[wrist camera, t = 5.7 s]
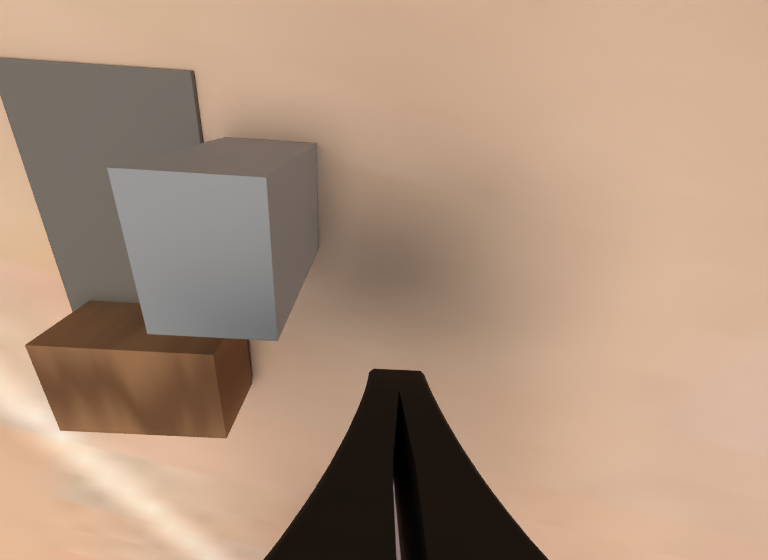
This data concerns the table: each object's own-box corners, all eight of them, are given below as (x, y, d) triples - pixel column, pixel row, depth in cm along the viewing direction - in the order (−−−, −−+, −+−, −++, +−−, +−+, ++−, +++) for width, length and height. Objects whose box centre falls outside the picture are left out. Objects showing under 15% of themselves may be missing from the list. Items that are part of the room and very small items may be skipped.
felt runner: (238, 404, 24) (236, 408, 23) (105, 398, 23) (102, 401, 23) (193, 71, 16) (190, 70, 16) (-6, 57, 16) (-13, 57, 15)
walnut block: (226, 438, 19) (60, 430, 19) (251, 383, 22) (113, 376, 22) (213, 354, 17) (25, 345, 16) (243, 308, 20) (89, 300, 20)
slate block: (318, 248, 19) (277, 341, 12) (237, 244, 19) (147, 334, 12) (316, 143, 17) (266, 177, 10) (225, 137, 17) (107, 167, 10)
